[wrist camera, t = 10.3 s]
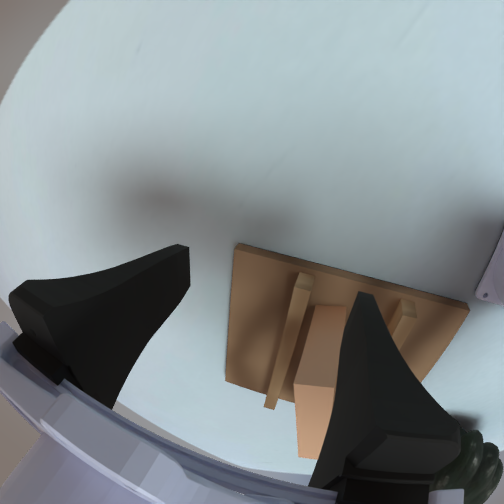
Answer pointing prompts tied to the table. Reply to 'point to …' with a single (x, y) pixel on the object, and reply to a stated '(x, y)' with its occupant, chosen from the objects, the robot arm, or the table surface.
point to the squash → (471, 469)
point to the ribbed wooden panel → (301, 313)
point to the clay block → (318, 378)
